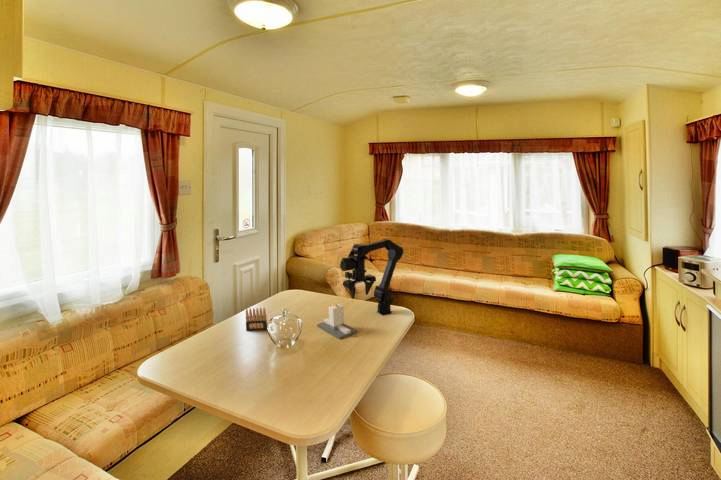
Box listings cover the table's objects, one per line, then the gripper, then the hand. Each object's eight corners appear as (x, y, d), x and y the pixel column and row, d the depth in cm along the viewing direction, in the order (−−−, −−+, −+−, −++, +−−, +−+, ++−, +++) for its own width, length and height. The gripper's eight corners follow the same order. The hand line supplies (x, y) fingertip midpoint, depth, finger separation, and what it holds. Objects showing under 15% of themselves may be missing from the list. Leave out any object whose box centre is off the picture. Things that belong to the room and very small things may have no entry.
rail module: (339, 324, 177) (338, 301, 175) (344, 326, 174) (343, 303, 172) (329, 327, 173) (328, 304, 171) (334, 330, 170) (332, 306, 168)
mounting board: (317, 326, 178) (316, 321, 178) (334, 320, 185) (334, 315, 184) (339, 339, 163) (339, 333, 162) (357, 332, 170) (357, 327, 169)
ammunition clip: (268, 328, 178) (266, 306, 176) (267, 330, 176) (265, 307, 174) (247, 329, 177) (245, 307, 175) (246, 331, 175) (244, 308, 173)
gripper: (363, 262, 193) (363, 289, 195) (336, 268, 181) (337, 296, 183) (376, 266, 184) (376, 294, 187) (349, 272, 172) (349, 302, 175)
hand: (360, 296), depth 183 cm, fingers open, 9 cm apart
